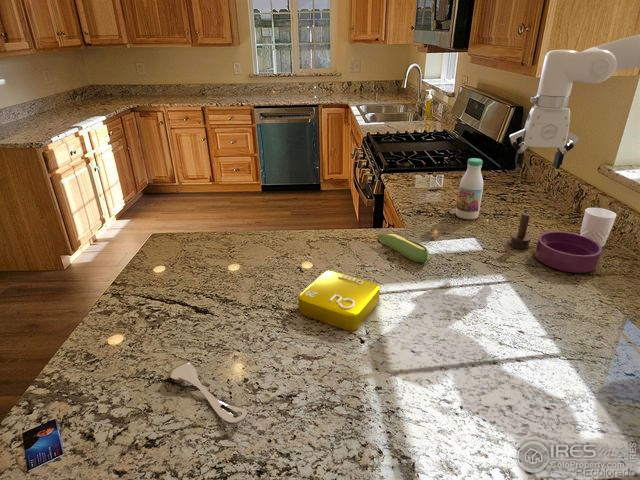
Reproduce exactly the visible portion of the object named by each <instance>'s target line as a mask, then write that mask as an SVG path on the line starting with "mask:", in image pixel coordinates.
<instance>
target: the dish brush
mask: <svg viewBox="0 0 640 480" xmlns="http://www.w3.org/2000/svg"><path fill="white" fill-rule="evenodd" d="M530 218H531V214H530V213H528V212H522V213H521V217H520V221H519V226H518V230H517V232H513V233H512V234H510V243H509V245H510V246H511V247H512V248H514V249H518V250H527V249H528V248H529V245H530V242H531V240H532V237H531V236H530V235H528V234H527V231H528V226H529V223H530Z"/></svg>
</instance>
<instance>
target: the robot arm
mask: <svg viewBox="0 0 640 480" xmlns="http://www.w3.org/2000/svg"><path fill="white" fill-rule="evenodd" d="M633 68H636V69H637V68H640V33H638V34H635V35H631V36H627V37H623V38H620V39H617V40H613V41H609V42H606V43H603V44H599V45H596V46H592V47H589V48H587V49H584V50H582V51H577V50H575V49H552V50H549V51H548V52H546V54H545V55H544V60H543V64H542V68H541V73H540V79H539V84H538V88H537V93H536V94H535V96H534V97H533V96H532V97H530V99H529V103H531V104H533V105H534V106H531V109H530V110H529V113H528V116H527V118H526V121H525V124H524V127H523V129H521V130H518V131H516V132H514V133H511V134H509V137H508V138H509V141H510V144H511V146H512V147H513V148H514V150H515V151H516V153H515V158H514V164H515V166H516V167H517V168H521V169H522V167H523V162H524V159H525V153H524V152H525V151H526V150H527V149H528V148H537V149H557V151H556V152H555V154H554V158H553V162H552V167H553V168H555V169H556V170H559V169H560V167H561V166H562V165H563V161H564V158H565V155H567V154H568V152H569V151H571V150H573V148H574V147H575V145H576V144H577V143H578V142H579V141H580V137H578V135H575V134H574V133H572V132H570V131H569V130H570V124H571V123H570V122H571V108H569V107H568V106H569V102H570V98H571V97H570V96H571V93H572V90H573V89H572V88H573V84H574V82H581V83H586V84H599V83H602V82H605V81H608V79H610V78H611V77H612V76H613V75H614V74H615V73H616V72H620V71H623V70H629V69H633ZM519 138H521V142H520V143H518V142H517V139H519ZM568 139H569V142H568V143H567V141H568Z"/></svg>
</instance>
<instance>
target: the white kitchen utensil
mask: <svg viewBox="0 0 640 480" xmlns="http://www.w3.org/2000/svg"><path fill="white" fill-rule="evenodd" d="M168 377H170V378H171V379H173V380H177V381H181V382H182V381H183V382H187V383H190V384H192V385H194V386H195V387H197V388H198V389H199V390H200V392H201V393H202V395H203V396H204V397H205V399H206V400H207V401H208V403H209V404H210V406H211V408H212V409H213V410H214V411H215V413H216V414H217V415H218V416H219V417H220V418H221V419H222V420H224V421H226V423H230V424H237V423H240V422H242V421H244V420H245V419H246V418H247V416H248V410H247V409H246V408H244V407H242V406H238V405H234V404H232V403H229V402H228V403H227V402H225V401H224V400H221V399H220V398H218V397H216V396H214V394H212V393H211V392H210V391H209V390H207V388H206V387H205V386H204V385H203V384H202V382H201V381H200V378H199V376H198V369H197V366H196V364H194V363H193V362H190V361H185V362H182V363H180V364H179V365H177V366H175V367H174V368H173V369H172V370H171V371H170V372H169V374H168ZM222 406H224V407H225V408H227V409H229V410H230V411H232V412H233V413H235V414H238V413H241V415H240V416H238V417H234V414H232V413H231V412H229V411H228V410H226V409H224V408H222Z"/></svg>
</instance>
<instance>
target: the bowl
mask: <svg viewBox="0 0 640 480" xmlns="http://www.w3.org/2000/svg"><path fill="white" fill-rule="evenodd" d="M602 254H603V247H601V246H600V245H599V244H598V243H597V242H595V241H594V240H592V239H590V238H587V237H585V236H582V235H580V234H579V233H578V234H577V233H574V232H568V231H560V230H559V231H556V230H554V231H546V232H542V233H541V234H540V235H538V238H537V241H536V246H535V250H534V257H536V259H537V260H538V261H539V262H541V264H543V265H545V266H548V267H550V268H554V269H555V270H559V271H563V272H568V273H576V274H584V273H590V272H592V271H595V270H596V269H597V268H598V266H599V263H600V260H601V256H602Z"/></svg>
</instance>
